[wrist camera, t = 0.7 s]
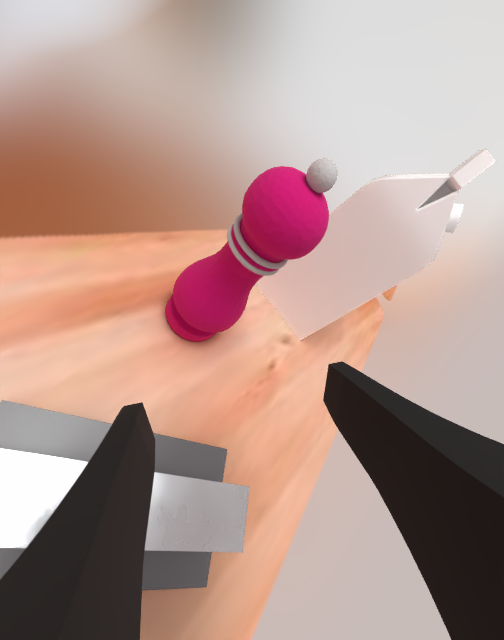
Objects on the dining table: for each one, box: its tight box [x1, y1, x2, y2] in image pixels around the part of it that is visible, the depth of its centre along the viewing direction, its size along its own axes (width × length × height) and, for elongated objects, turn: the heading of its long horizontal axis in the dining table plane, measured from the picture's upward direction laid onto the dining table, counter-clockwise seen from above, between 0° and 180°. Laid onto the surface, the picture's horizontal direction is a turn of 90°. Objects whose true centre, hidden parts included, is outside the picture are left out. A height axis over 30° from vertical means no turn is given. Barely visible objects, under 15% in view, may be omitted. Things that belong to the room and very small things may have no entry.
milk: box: [256, 149, 496, 341], centre depth 32 cm, size 12×12×26 cm
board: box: [0, 400, 227, 590], centre depth 17 cm, size 9×17×1 cm, turn 82°
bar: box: [0, 449, 249, 552], centre depth 15 cm, size 4×16×5 cm, turn 82°
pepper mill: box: [166, 158, 337, 342], centre depth 21 cm, size 7×7×20 cm
